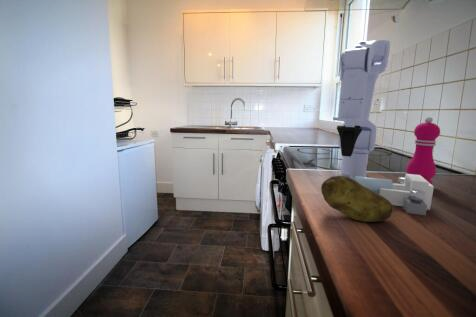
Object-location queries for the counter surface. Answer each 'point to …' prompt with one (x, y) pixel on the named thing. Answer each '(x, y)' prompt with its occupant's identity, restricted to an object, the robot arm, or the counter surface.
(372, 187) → the cartridge
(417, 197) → the plunger right
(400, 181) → the plunger left
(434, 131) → the pepper mill
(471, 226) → the counter surface
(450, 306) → the counter surface
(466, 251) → the counter surface
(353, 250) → the counter surface
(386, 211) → the potato
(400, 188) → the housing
